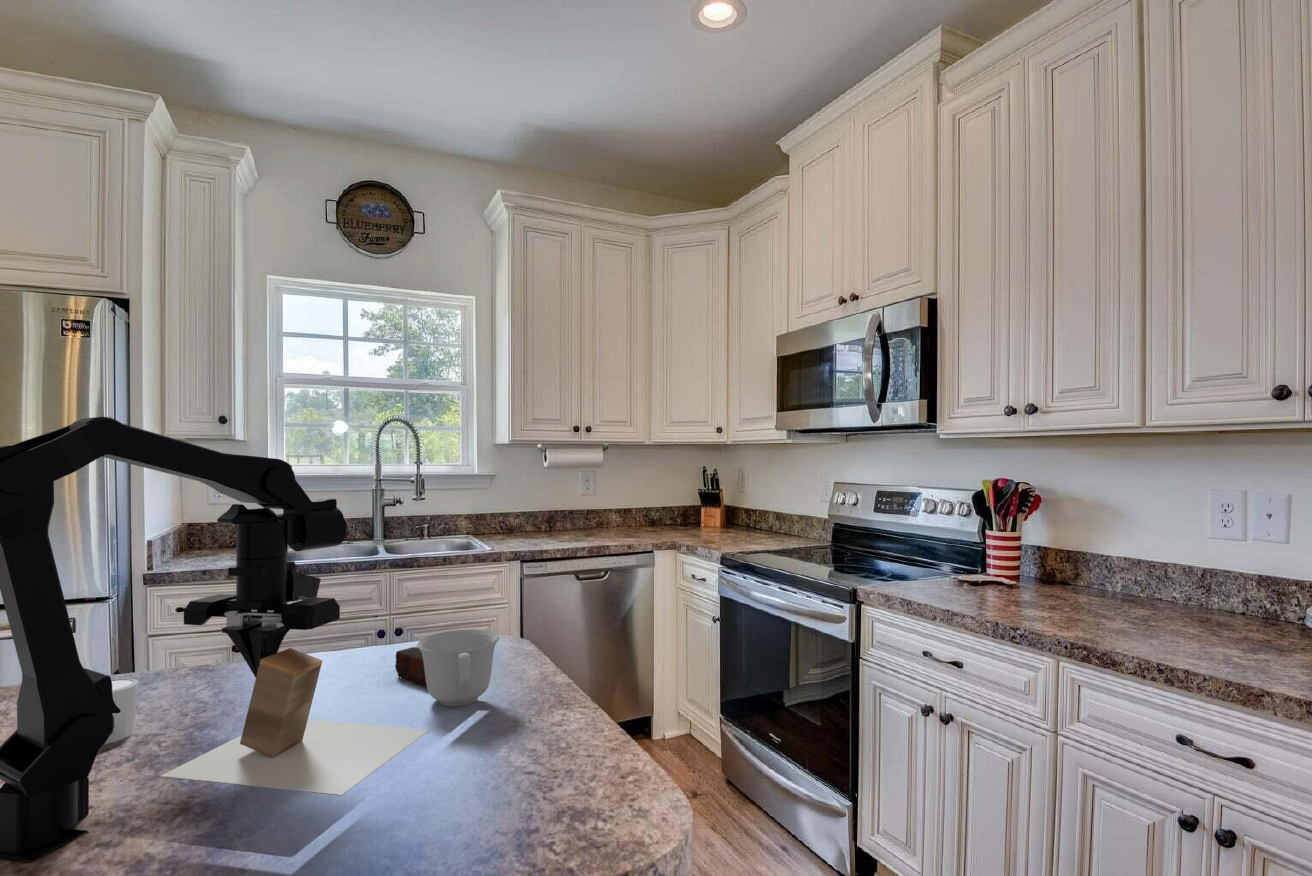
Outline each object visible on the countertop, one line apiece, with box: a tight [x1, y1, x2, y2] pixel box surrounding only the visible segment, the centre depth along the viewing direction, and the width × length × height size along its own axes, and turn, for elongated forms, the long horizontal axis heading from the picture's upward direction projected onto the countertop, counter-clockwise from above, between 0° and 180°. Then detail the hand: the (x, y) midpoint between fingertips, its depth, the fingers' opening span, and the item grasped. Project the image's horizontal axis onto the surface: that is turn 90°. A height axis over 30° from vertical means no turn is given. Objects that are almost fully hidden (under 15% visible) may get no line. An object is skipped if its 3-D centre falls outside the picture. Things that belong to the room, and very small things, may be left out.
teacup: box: [416, 629, 500, 707], centre depth 102 cm, size 12×15×10 cm
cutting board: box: [160, 719, 431, 796], centre depth 85 cm, size 18×24×1 cm
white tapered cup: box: [104, 678, 140, 745], centre depth 93 cm, size 7×7×7 cm
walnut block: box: [240, 647, 323, 758], centre depth 86 cm, size 5×5×11 cm
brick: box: [394, 646, 428, 689], centre depth 115 cm, size 11×4×5 cm, turn 52°
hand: (262, 678), depth 87 cm, fingers closed
